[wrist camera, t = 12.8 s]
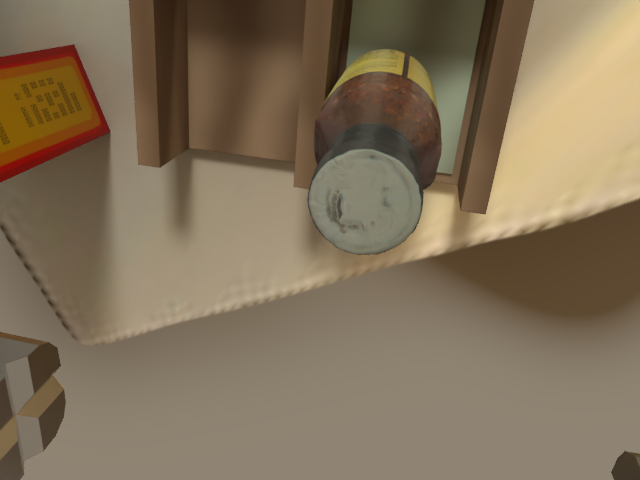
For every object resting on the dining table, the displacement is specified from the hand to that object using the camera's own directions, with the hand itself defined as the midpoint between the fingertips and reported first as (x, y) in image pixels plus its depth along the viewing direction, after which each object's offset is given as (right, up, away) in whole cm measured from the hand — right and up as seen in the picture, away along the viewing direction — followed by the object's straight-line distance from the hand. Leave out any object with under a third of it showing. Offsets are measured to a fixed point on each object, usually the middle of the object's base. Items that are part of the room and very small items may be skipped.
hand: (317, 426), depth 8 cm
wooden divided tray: (+1, +15, +30) cm, 33 cm away
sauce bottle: (+5, +12, +29) cm, 32 cm away
